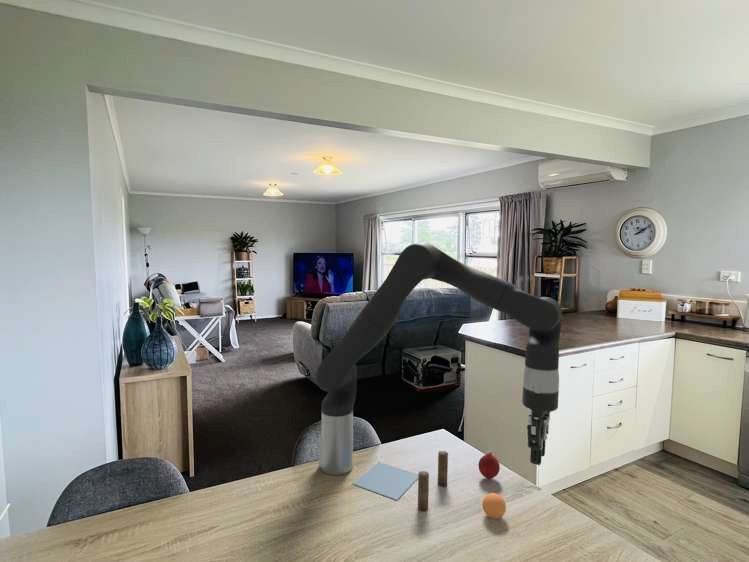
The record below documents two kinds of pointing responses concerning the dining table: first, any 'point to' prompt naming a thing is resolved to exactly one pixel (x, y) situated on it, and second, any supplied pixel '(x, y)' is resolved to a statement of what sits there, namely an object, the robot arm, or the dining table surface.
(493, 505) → the ball
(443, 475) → the post
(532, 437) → the robot arm
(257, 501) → the dining table surface
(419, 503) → the post
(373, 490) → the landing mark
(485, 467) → the onion
